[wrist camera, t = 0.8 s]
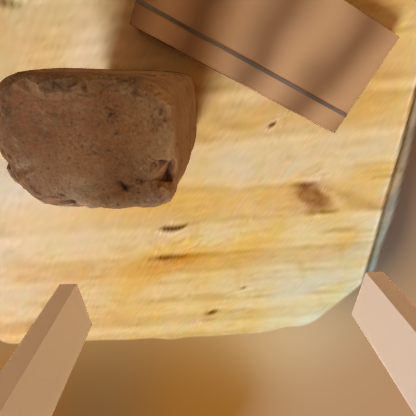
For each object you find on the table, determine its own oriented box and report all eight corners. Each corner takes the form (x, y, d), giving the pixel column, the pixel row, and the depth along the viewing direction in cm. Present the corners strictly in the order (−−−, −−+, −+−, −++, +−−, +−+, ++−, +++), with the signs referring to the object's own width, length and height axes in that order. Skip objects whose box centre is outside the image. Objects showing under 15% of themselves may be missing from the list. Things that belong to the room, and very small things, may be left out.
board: (135, 27, 26) (129, 23, 24) (170, -103, 21) (167, -120, 20) (327, 129, 30) (334, 133, 28) (386, 39, 26) (400, 36, 24)
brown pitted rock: (200, 74, 28) (187, 68, 10) (196, 142, 31) (182, 230, 13) (100, 66, 27) (-100, 46, 9) (108, 136, 31) (-29, 218, 13)
